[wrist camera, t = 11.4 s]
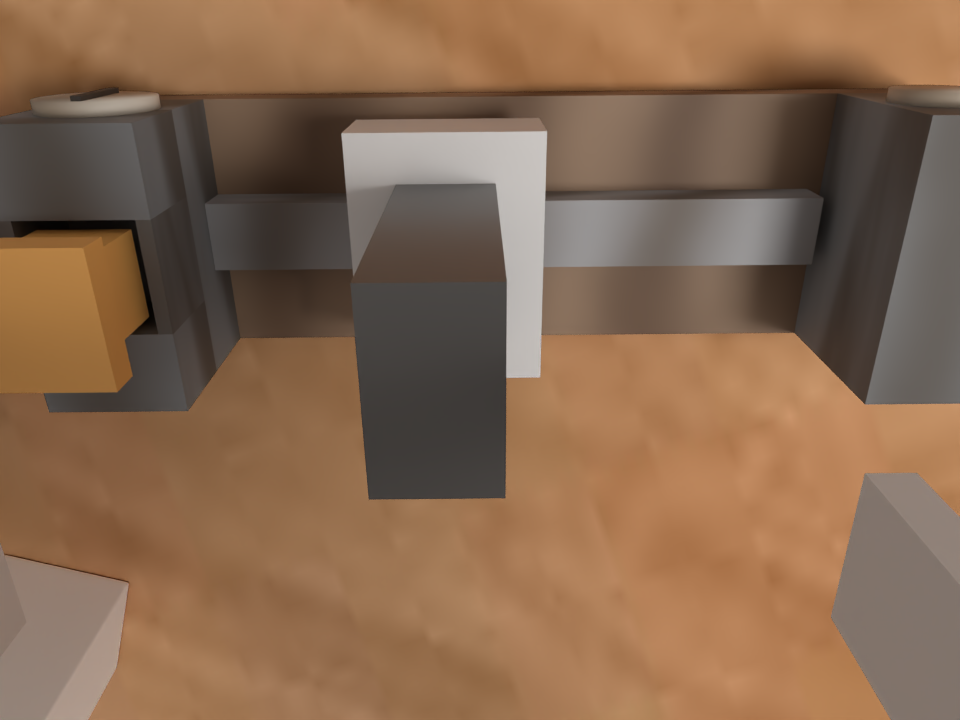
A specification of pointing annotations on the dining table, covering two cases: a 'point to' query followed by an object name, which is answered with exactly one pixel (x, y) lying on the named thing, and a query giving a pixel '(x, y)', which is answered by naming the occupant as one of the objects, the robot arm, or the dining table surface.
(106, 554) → the dining table surface
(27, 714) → the milk
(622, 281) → the rail base
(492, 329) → the carriage
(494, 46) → the dining table surface
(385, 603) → the dining table surface
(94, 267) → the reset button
